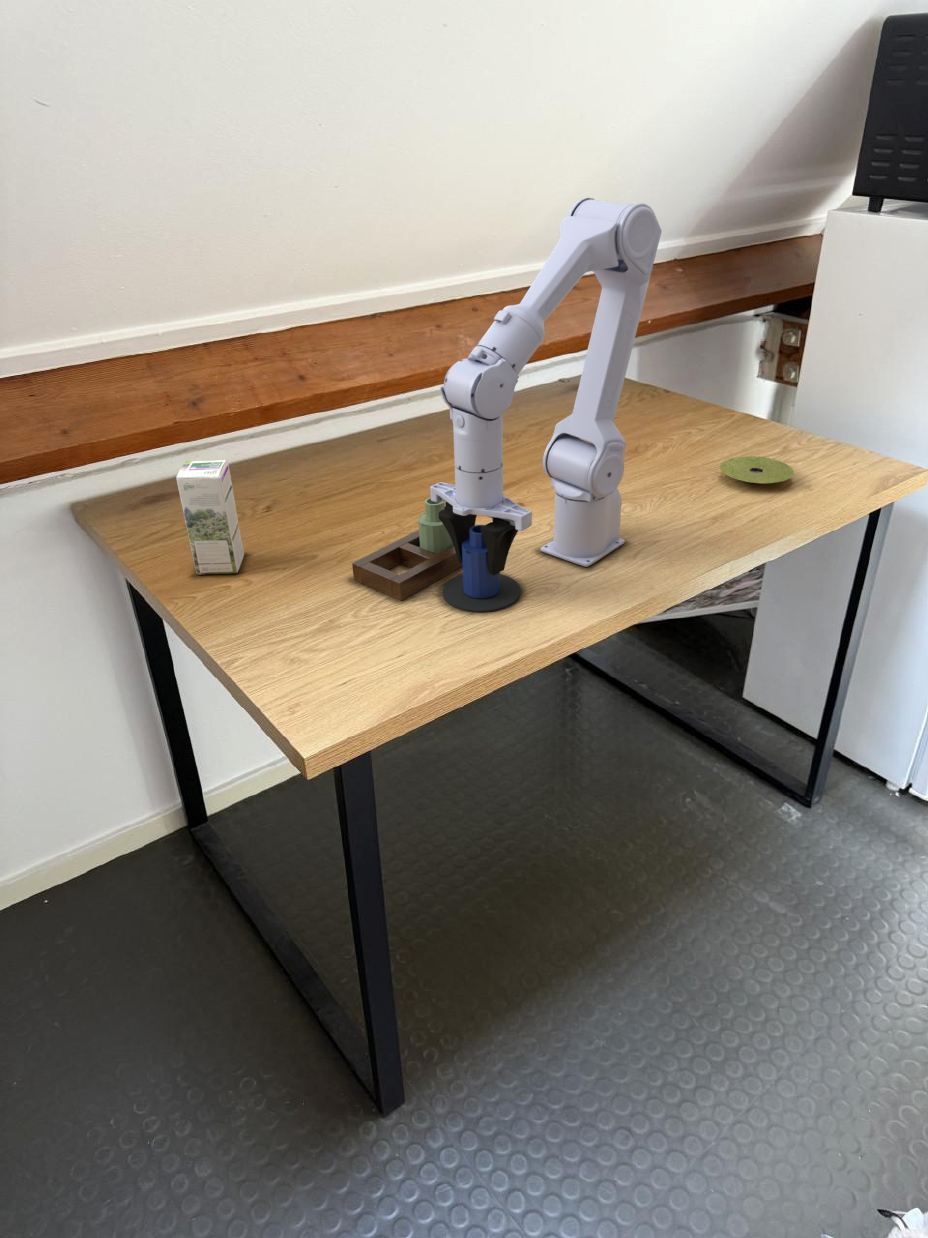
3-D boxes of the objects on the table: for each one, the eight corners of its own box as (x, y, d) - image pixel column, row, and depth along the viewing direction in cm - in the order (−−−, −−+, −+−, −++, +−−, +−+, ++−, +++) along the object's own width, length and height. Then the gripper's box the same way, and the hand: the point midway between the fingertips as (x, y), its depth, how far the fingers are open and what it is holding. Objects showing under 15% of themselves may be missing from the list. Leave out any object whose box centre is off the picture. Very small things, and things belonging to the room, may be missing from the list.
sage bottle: (436, 547, 128) (433, 491, 123) (460, 556, 125) (458, 499, 121) (413, 559, 125) (410, 502, 120) (438, 568, 122) (435, 511, 118)
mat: (705, 472, 148) (706, 460, 147) (766, 462, 150) (768, 451, 149) (741, 498, 139) (743, 486, 138) (806, 488, 141) (808, 476, 140)
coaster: (477, 566, 122) (477, 564, 122) (536, 589, 117) (536, 587, 116) (426, 595, 116) (426, 593, 116) (486, 621, 110) (486, 618, 110)
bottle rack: (353, 580, 120) (351, 562, 119) (435, 537, 130) (434, 521, 129) (401, 601, 115) (399, 583, 114) (482, 555, 125) (482, 538, 124)
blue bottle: (479, 577, 119) (478, 518, 114) (506, 587, 116) (506, 527, 112) (456, 590, 116) (453, 530, 111) (483, 602, 113) (482, 540, 109)
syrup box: (245, 554, 127) (228, 457, 120) (237, 575, 122) (219, 474, 115) (204, 556, 127) (185, 458, 120) (195, 576, 122) (174, 476, 115)
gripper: (411, 460, 109) (417, 560, 116) (505, 489, 101) (505, 595, 108) (450, 443, 113) (454, 541, 120) (543, 470, 105) (541, 573, 112)
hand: (480, 565), depth 114 cm, fingers closed on blue bottle, 4 cm apart
